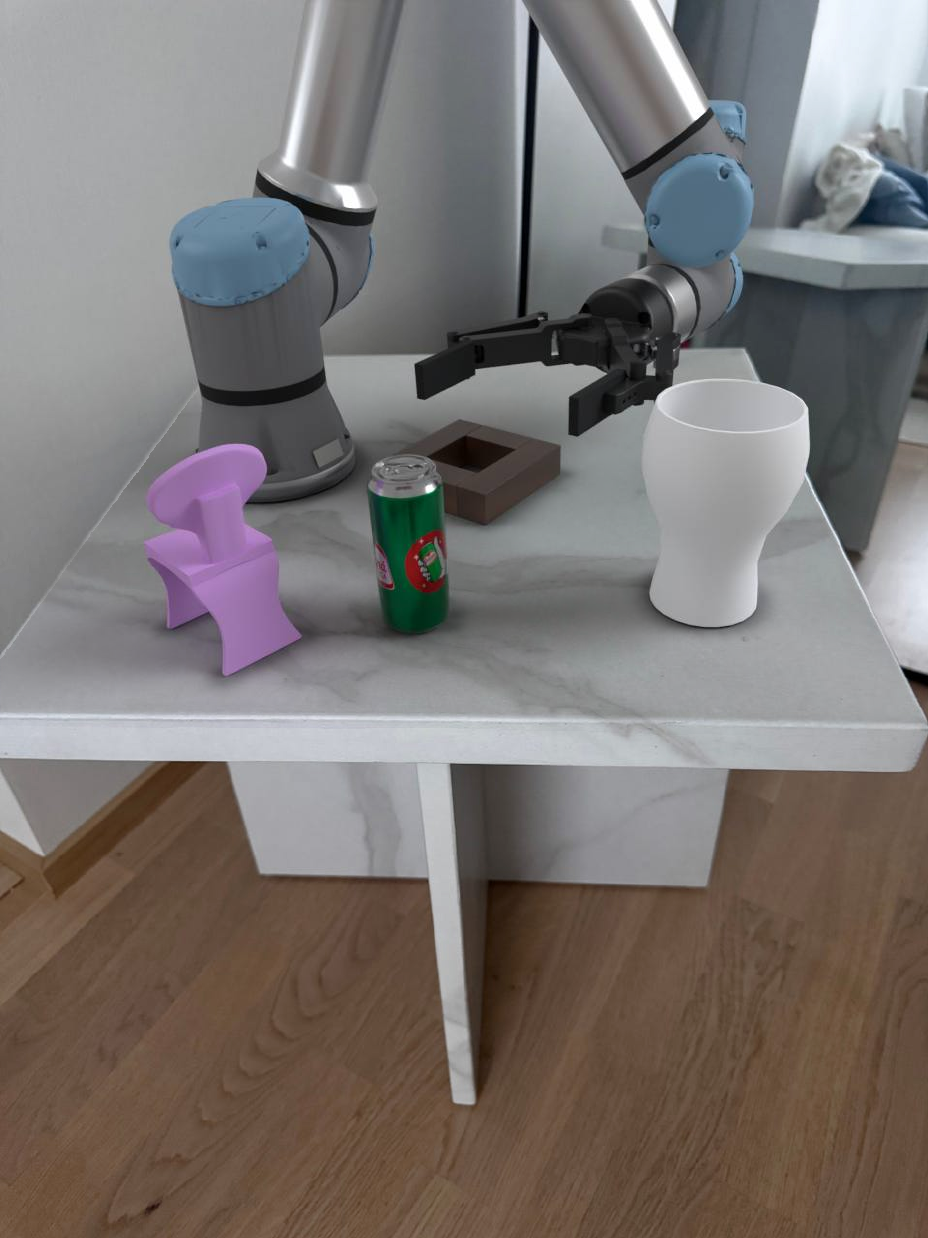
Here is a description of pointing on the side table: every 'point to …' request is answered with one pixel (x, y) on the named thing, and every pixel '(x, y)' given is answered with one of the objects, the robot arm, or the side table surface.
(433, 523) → the soda can
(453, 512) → the square frame
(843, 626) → the side table surface
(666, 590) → the cup
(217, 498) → the toy chair
